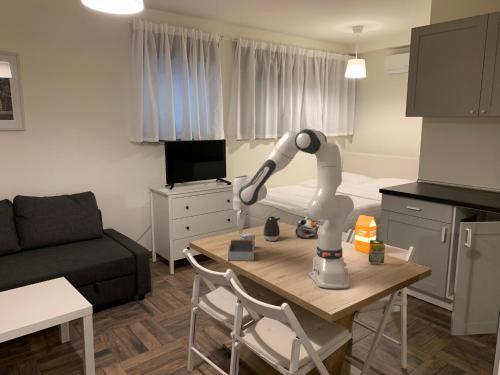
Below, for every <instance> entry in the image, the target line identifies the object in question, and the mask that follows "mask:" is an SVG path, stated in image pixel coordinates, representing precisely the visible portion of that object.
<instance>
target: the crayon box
mask: <svg viewBox="0 0 500 375" xmlns="http://www.w3.org/2000/svg"><path fill="white" fill-rule="evenodd" d="M374 241H375V243H374ZM385 250H386V244H384V240H383V239H380V240H378V239H376V240H370V247H369V253H368V262H369V263H370V264H385Z"/></svg>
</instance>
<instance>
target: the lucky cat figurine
mask: <svg viewBox="0 0 500 375" xmlns="http://www.w3.org/2000/svg"><path fill="white" fill-rule="evenodd" d="M319 229H320V223H318V222H317V221H316V220H313V219H311V218H310V219H302V220H298V221H297V227H296V228H295V232H294V233H295V235H296V237H298V238H300V239H306V238H309V237H313V236H318V232H319Z"/></svg>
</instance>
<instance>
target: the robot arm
mask: <svg viewBox="0 0 500 375" xmlns="http://www.w3.org/2000/svg"><path fill="white" fill-rule="evenodd" d="M298 152H303V153H305V154H310V155H314V156H315V157H316V165H317V166H316V167H317V185H316V190H315V192H314V195H313V197H312V198H311V199H310V201H309V202H308V204H307V206H306V207H307V214H308V217H309V218H310V219H311V220H312V221H316V222H317V221H320V222H323V224H322V225H321V227H319V229H318V231H317V246H316V256H314V257H313V258H312V259H313V260H312V271H309V272H308V276H309V277H310V278H311V279H312V280H313V281H314V282H315V283H316V285H317V286H318V287H320V288H325V289H346V288H349V287H350V278H349V268H347V267H346V266H347V263H346V262H345V258H344V257H343V247H342V240H343V231H344V228H345V225H346V222H347V220H348V218H349V217H350V216H351V214H352V213H353V212H354V209H355V203H354V200H353V199H352V197H351V196H348V195H345V194H336V193H337V190H338V188H340V185H341V184H342V181H343V175H342V158H341V153H340V149H339V146H338V144H336V143H334V142H329V141H328V139H327V137H326V135H325V133H324V132H322V131H320V130H317V129H312V128H310V129H309V128H305V129H301V130H300V131H298V132H296V131H291V130H289V131H287V132H285V133H284V134H283V135H282V136H281V137H280V138H279V140H278V141H277V142H276V144H275V145H274V146H273V148H272V150H270V153H269V154H268V156H267V157H266V159H265V161H264V163H263V164H262V165H261V166H260V168H258V170H257V172H256V173H255V174H254V175H253V177H252V178H250V176H249V175H240V176H237V177H235V178H234V179H233V184H232V195H233V198H232V209H233V210H234V212H235V213H236V227H237V228H238V233H239V234H240V235H243V232H244V227H245V220H246V215H247V214H246V213H247V212H248V211H249V210H250V209H251V208H250V207H251V206H253V205H254V204H256V203H258V202H261V201H262V200H264V199H265V198H266V197H267V195H268V189H267V187H266V185H265V184H266V182H267V181H268V180H269V179H270V178H271V177H272V176H273V175H275V174H276V173H278V172H281V171H282V170H284V169H285V168H286V167H287V166H288V165H289V164H290V163H291V162H292V161H293V159H294V158H295V157H296V155H297V154H298Z"/></svg>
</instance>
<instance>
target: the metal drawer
mask: <svg viewBox="0 0 500 375" xmlns="http://www.w3.org/2000/svg"><path fill="white" fill-rule="evenodd" d="M254 253H255V249H254V245H252V240H240V239H230V244H229V245H228V251H227V261H228V262H254V261H255V260H254V258H255V257H254V256H255V254H254Z"/></svg>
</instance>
